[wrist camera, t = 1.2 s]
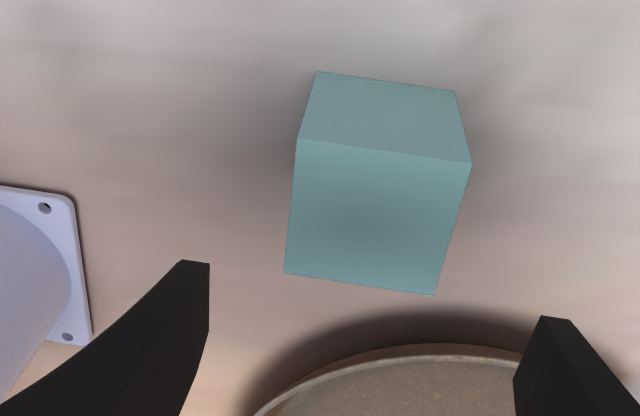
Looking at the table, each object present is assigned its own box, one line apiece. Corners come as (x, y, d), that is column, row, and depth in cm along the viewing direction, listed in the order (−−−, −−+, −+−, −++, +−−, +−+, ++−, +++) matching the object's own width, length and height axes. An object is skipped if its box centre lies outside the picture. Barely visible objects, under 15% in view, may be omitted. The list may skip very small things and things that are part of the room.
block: (303, 187, 21) (283, 273, 17) (317, 70, 19) (297, 137, 15) (424, 205, 21) (433, 296, 17) (454, 90, 19) (472, 164, 15)
